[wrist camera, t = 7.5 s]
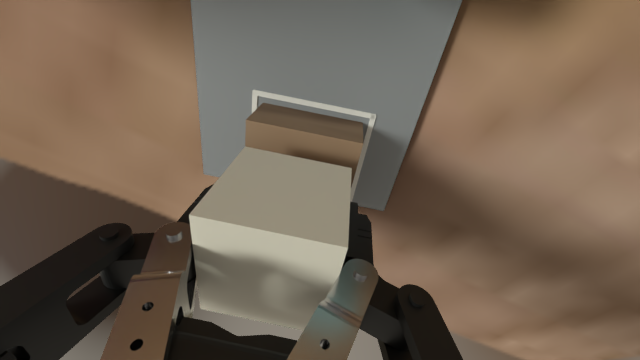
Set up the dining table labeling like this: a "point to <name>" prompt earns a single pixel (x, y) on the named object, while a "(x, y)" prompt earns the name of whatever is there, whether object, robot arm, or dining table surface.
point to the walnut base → (305, 135)
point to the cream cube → (271, 237)
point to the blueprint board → (319, 73)
